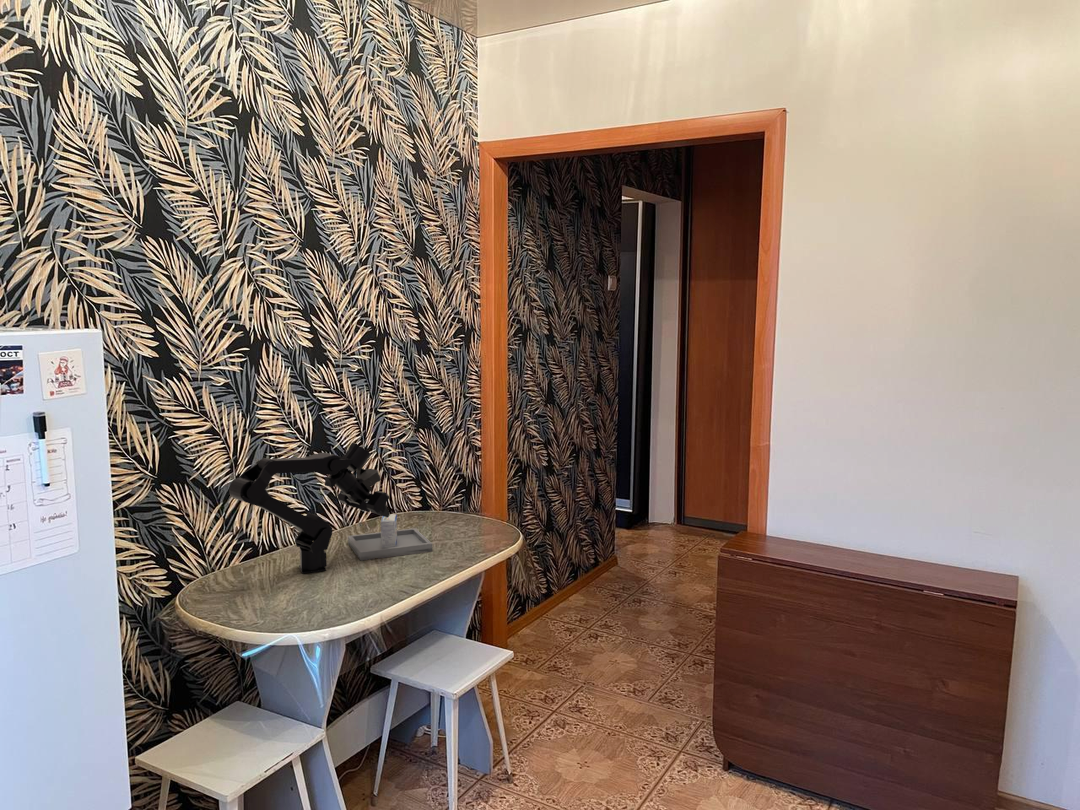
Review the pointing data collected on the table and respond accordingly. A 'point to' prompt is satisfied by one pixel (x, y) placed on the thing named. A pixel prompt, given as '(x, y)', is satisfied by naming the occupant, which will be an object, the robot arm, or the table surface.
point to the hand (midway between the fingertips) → (379, 513)
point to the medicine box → (389, 531)
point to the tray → (406, 544)
